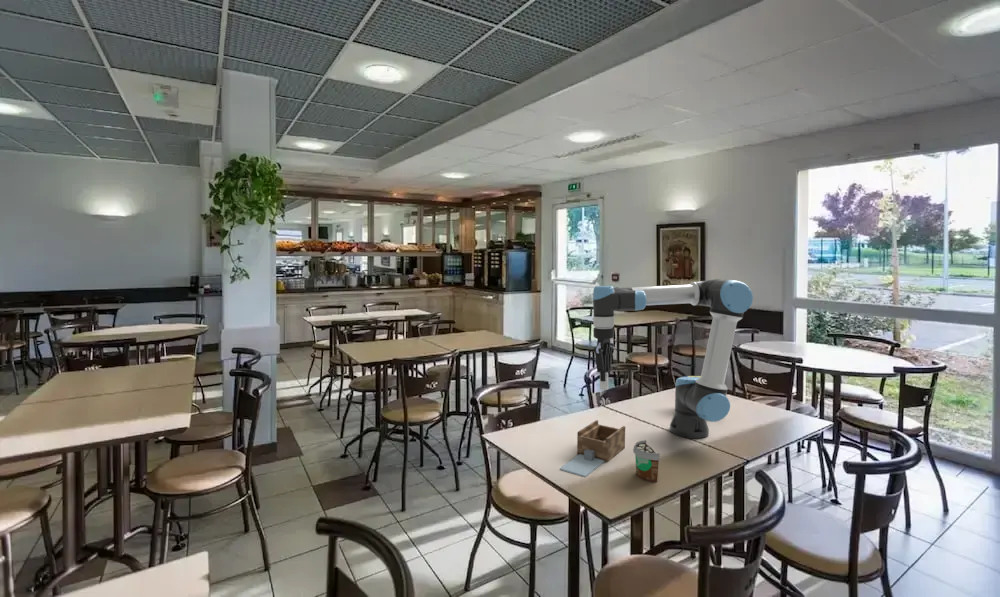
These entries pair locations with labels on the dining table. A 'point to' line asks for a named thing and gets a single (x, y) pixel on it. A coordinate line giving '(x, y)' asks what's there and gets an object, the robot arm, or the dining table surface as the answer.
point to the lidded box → (601, 440)
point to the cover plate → (583, 464)
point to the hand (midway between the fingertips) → (604, 388)
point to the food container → (646, 462)
